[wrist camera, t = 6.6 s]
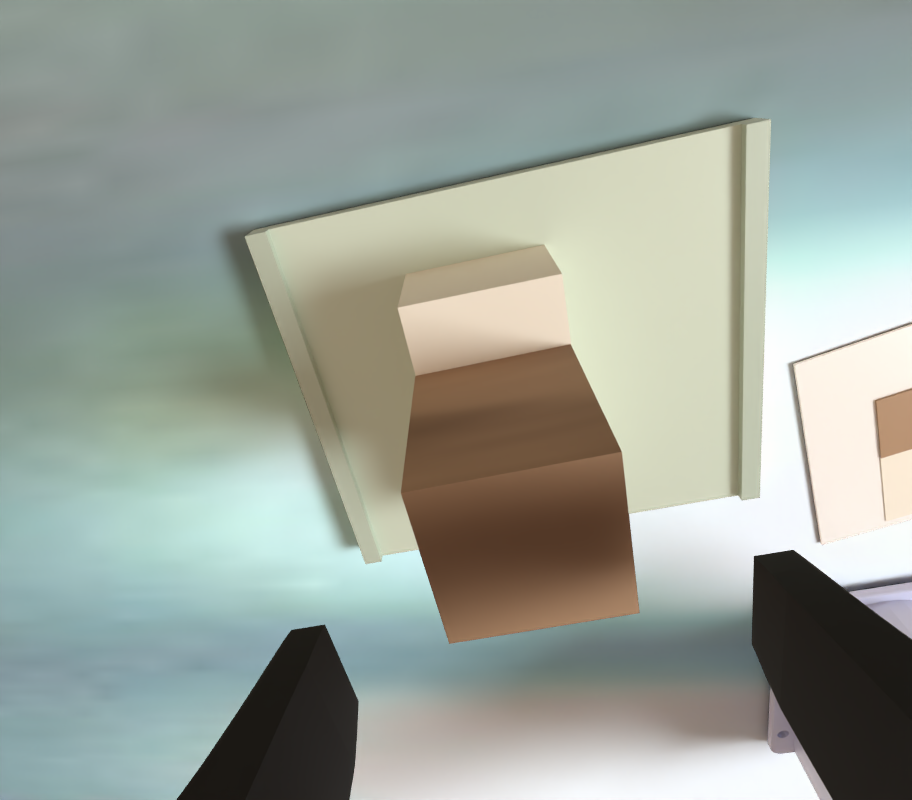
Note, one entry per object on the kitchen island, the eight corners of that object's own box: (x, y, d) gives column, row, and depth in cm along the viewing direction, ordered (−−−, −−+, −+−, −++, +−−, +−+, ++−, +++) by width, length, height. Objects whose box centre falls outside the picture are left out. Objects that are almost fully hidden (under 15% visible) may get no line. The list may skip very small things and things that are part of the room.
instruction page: (991, 494, 22) (994, 497, 21) (820, 543, 23) (823, 546, 22) (994, 295, 18) (999, 297, 18) (793, 363, 19) (795, 366, 19)
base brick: (577, 475, 20) (596, 533, 18) (462, 496, 21) (463, 556, 18) (544, 244, 17) (562, 273, 14) (405, 274, 17) (397, 307, 14)
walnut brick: (588, 474, 17) (639, 612, 12) (449, 499, 17) (449, 643, 13) (570, 344, 15) (622, 451, 10) (415, 376, 15) (400, 493, 11)
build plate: (748, 482, 21) (759, 497, 20) (368, 547, 22) (365, 564, 22) (754, 117, 16) (771, 119, 15) (254, 229, 17) (244, 236, 16)
